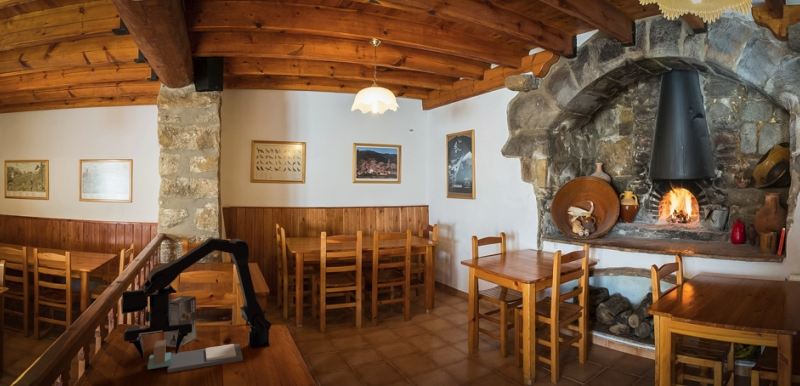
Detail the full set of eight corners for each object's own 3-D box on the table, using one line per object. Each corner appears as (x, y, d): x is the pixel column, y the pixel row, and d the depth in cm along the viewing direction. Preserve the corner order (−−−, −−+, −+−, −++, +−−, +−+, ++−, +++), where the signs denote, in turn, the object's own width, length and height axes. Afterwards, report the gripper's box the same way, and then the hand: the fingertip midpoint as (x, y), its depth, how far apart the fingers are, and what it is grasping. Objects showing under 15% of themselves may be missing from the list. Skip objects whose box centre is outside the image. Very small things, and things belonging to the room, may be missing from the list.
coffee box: (181, 336, 160) (181, 294, 159) (196, 338, 158) (196, 296, 158) (163, 346, 151) (163, 301, 150) (179, 348, 149) (179, 303, 149)
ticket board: (239, 347, 151) (239, 341, 151) (242, 360, 140) (242, 354, 140) (169, 357, 141) (169, 351, 141) (167, 372, 131) (167, 366, 131)
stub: (171, 354, 140) (171, 337, 140) (169, 365, 132) (169, 347, 132) (150, 357, 138) (150, 340, 137) (147, 369, 130) (147, 350, 129)
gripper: (192, 298, 146) (192, 342, 146) (128, 304, 137) (128, 351, 138) (192, 307, 136) (192, 355, 136) (123, 314, 127) (123, 365, 128)
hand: (159, 356), depth 135 cm, fingers open, 9 cm apart
